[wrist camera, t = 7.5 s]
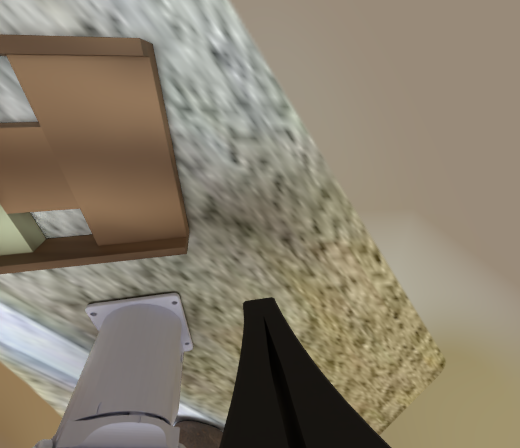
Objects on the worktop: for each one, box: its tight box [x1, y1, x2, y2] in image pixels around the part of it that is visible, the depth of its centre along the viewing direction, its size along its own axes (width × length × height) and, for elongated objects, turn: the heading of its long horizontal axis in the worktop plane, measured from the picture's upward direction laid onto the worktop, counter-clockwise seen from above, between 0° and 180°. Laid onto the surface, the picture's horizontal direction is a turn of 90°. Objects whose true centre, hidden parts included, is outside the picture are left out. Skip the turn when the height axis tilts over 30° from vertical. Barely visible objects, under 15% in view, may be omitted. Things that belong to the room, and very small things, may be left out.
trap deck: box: [0, 35, 189, 274], centre depth 13 cm, size 12×15×4 cm
